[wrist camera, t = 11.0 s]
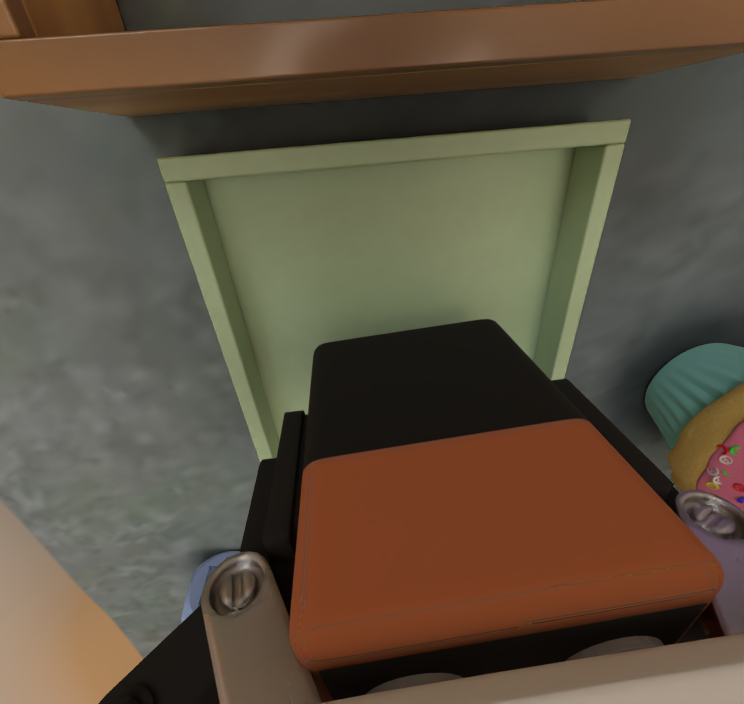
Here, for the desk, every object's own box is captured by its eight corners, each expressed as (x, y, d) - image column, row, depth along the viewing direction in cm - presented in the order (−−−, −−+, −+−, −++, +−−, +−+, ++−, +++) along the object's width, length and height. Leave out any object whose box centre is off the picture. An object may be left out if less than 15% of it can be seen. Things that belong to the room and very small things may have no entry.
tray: (181, 156, 11) (154, 158, 9) (589, 122, 11) (632, 118, 10) (285, 493, 19) (281, 525, 17) (518, 462, 20) (535, 491, 18)
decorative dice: (269, 549, 22) (257, 625, 18) (267, 584, 23) (256, 658, 20) (200, 549, 21) (175, 628, 17) (204, 584, 23) (182, 662, 19)
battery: (311, 339, 13) (266, 756, 4) (495, 311, 13) (833, 654, 4) (332, 428, 15) (333, 815, 6) (488, 403, 15) (698, 748, 6)
